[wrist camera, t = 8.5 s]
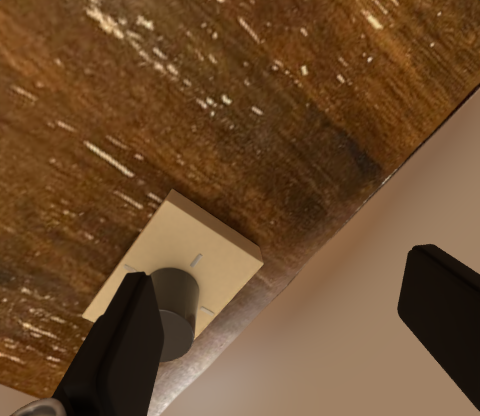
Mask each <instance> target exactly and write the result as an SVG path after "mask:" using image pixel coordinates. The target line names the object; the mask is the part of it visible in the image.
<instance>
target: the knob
mask: <svg viewBox="0 0 480 416" xmlns="http://www.w3.org/2000/svg"><path fill="white" fill-rule="evenodd" d="M150 275H151V277H152V281H153V285H154V290H155V294H156V299H157V303H158V307H159V312H160V316H161V321H162V325H163V329H164V345H163V350H162V354H161V358H160V362H168V361H172V360H175V359H178V358H180V357H182V356H183V355H184V354H186V353H187V352H188V351H189V349H190V348H191V346H192V345H193V342H194V337H195V328H196V319H197V311H198V302H199V286H198V284H197V282H196V280H195V279H194V278H193V277H192V276H191V275H190V274H189V273H187V272H185V271H183V270H181V269H177V268H163V269H159V270H156V271H154V272H153V273H151V274H150Z"/></svg>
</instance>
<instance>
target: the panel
mask: <svg viewBox="0 0 480 416" xmlns="http://www.w3.org/2000/svg"><path fill="white" fill-rule="evenodd" d="M263 264H264V262H263V259H262V255H261V251H260V248H259V246H257V245H256V244H254V243H253V242H251V241H250V240H248V239H247V238H245V237H244V236H242V235H241V234H239V233H238V232H236V231H235V230H233V229H232V228H230V227H229V226H227V225H226V224H224V223H223V222H221V221H220V220H218V219H217V218H215V217H214V216H212V215H211V214H210V213H208V212H207V211H205V210H204V209H202V208H201V207H199V206H198V205H196V204H195V203H193V202H192V201H190V200H189V199H187V198H186V197H184V196H183V195H181V194H180V193H178V192H177V191H175V190H174V189H171V191H170V192H169V193H168V195H167V196H166V198H165V199H164V200H163V202H162V203H161V205H160V206H159V207H158V209H157V210H156V212H155V213H154V214H153V216H152V217H151V219H150V220H149V221H148V223H147V224H146V225H145V227H144V228H143V230H142V231H141V232H140V234H139V235H138V237H137V238H136V239H135V241H134V242H133V244H132V245H131V246H130V248H129V249H128V251H127V252H126V253H125V255H124V256H123V257H122V259H121V260H120V262H119V263H118V264H117V266H116V267H115V269H114V270H113V271H112V273H111V274H110V276H109V277H108V278H107V280H106V281H105V283H104V284H103V285H102V287H101V288H100V290H99V291H98V292H97V294H96V295H95V297H94V298H93V300H92V301H91V303H90V304H89V306H88V307H87V309H86V310H85V312H84V313H83V315H82V317H83V318H86V319H88V320H90V321H92V322H94V323H95V321H96V320H97V319H98V317H99V316H101V315H103V314H104V312H105V311H106V309H107V307H108V305H109V304H110V302H111V300H112V298H113V296H114V295H115V293H116V291H117V289H118V287H119V286H120V284H121V282H122V280H123V279H124V277H125V275H126V274H127V273H132V272H142V271H144V272H145V273H146V275H150V274H151V273H153V272H154V271H156V270H159V269H163V268H177V269H181V270H183V271H185V272H187V273H189V274H190V275H191V276H192V277H193V278H194V279H195V280H196V282H197V284H198V286H199V302H198V311H197V319H196V328H195V337H194V340H195V339H196V337H197V336H198V335H199V334H200V333H201V332H202V331H203V330H204V329H205V328H206V327H207V325H208V324H209V323H210V322H211V321H212V320H213V319H214V318H215V317H216V316H217V315H218V313H219V312H220V311H221V310H222V309H223V308H224V307H225V306H226V305H227V304H228V303H229V301H230V300H231V299H232V298H233V297H234V296H235V295H236V294H237V293H238V292H239V291H240V289H241V288H242V287H243V286H244V285H245V284H246V283H247V282H248V281H249V280H250V279H251V277H252V276H253V275H254V274H255V273H256V272H257V271H258V270H259V269H260V268H261V266H262V265H263ZM175 360H176V359H175Z"/></svg>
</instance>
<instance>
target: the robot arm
mask: <svg viewBox="0 0 480 416" xmlns="http://www.w3.org/2000/svg"><path fill="white" fill-rule="evenodd" d="M397 310H398V314H399V316H400V318H401V319H402V321H403V322H404V323H405V324H406V325H407V326H408V327H409V329H410V330H411V331H412V332H413V334H414V335H415V336H416V337H417V338H418V339H419V341H420V342H421V343H422V344H423V345H424V346H425V348H426V349H427V350H428V351H429V352H430V354H431V355H432V356H433V357H434V358H435V360H436V361H437V362H438V363H439V364H440V365H441V367H442V368H443V369H444V370H445V371H446V373H447V374H448V375H449V376H450V377H451V379H453V381H454V382H455V383H456V384H457V386H458V387H459V388H460V389H461V390H462V392H463V393H464V394H465V395H466V396H467V397H468V399H469V400H470V401H471V402H472V403H473V405H474V406H475V407H476V408H477V409H478V410H479V411H480V274H478V273H477V272H475V271H474V270H472V269H471V268H469V267H468V266H466V265H464V264H463V263H461V262H460V261H458V260H457V259H455V258H454V257H452V256H451V255H449V254H447V253H446V252H445V251H443V250H442V249H440V248H438V247H437V246H435V245H433V244H427V245H418V246H414V247H413V248H412V250H410V251H409V253H408V256H407V261H406V266H405V271H404V276H403V282H402V287H401V292H400V297H399V302H398V308H397ZM163 345H164V329H163V325H162V321H161V316H160V312H159V307H158V303H157V299H156V294H155V290H154V285H153V281H152V277H151V275H146V273H145V272H144V271H142V272H132V273H127V274H126V275H125V277H124V279H123V280H122V282H121V284H120V286H119V287H118V289H117V291H116V293H115V295H114V296H113V298H112V300H111V302H110V304H109V305H108V307H107V309H106V311H105V312H104V314H103V315H101V316H99V317H98V319H97V320H96V321H95V323H94V325H93V327H92V328H91V330H90V332H89V334H88V335H87V337H86V339H85V340H84V342H83V344H82V346H81V347H80V349H79V351H78V353H77V354H76V356H75V358H74V359H73V361H72V363H71V365H70V366H69V368H68V370H67V372H66V373H65V375H64V377H63V378H62V380H61V382H60V384H59V385H58V387H57V389H56V391H55V392H54V394H53V396H52V397H51V398H43V399H40V400H37V401H33V402H31V403H29V404H27V405H25V406H24V407H21V408H20V409H18V410H17V411H16V412H14V413H13V414H12V415H10V416H147V413H148V408H149V404H150V400H151V396H152V392H153V387H154V383H155V379H156V375H157V371H158V366H159V362H160V358H161V354H162V350H163Z"/></svg>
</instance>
